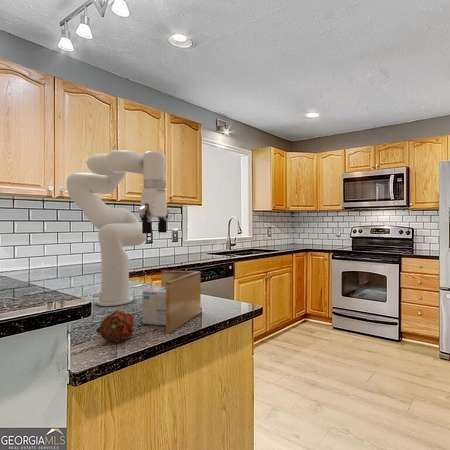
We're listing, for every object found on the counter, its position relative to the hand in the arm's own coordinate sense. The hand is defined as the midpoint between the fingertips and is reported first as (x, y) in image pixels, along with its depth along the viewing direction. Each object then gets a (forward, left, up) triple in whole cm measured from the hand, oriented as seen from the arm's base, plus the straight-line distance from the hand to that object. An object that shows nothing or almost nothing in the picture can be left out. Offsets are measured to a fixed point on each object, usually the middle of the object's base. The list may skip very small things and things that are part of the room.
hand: (154, 232), depth 118 cm
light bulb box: (+11, -13, -28) cm, 33 cm away
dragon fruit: (+6, -29, -28) cm, 41 cm away
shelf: (+10, -12, -28) cm, 32 cm away
